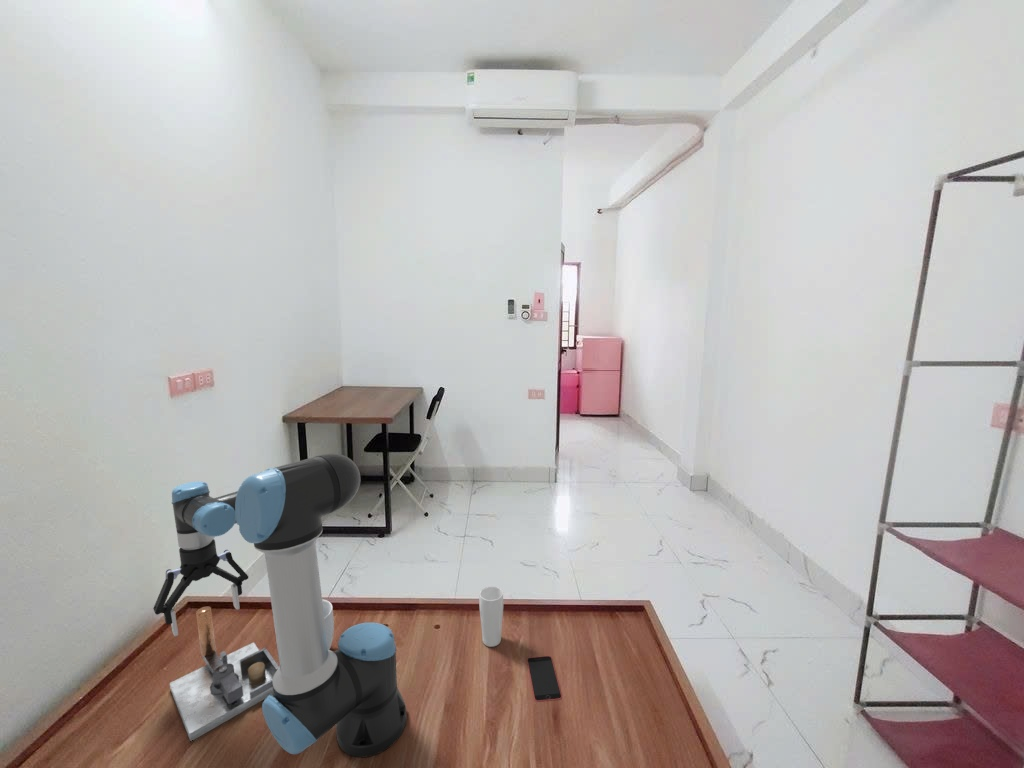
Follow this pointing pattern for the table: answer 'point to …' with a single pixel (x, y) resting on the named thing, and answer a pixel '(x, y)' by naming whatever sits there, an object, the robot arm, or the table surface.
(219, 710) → the grey flat slab fixture
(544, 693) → the smartphone
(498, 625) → the white tall cup
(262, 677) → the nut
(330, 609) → the mug
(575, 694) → the table surface
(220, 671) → the lever
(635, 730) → the table surface
